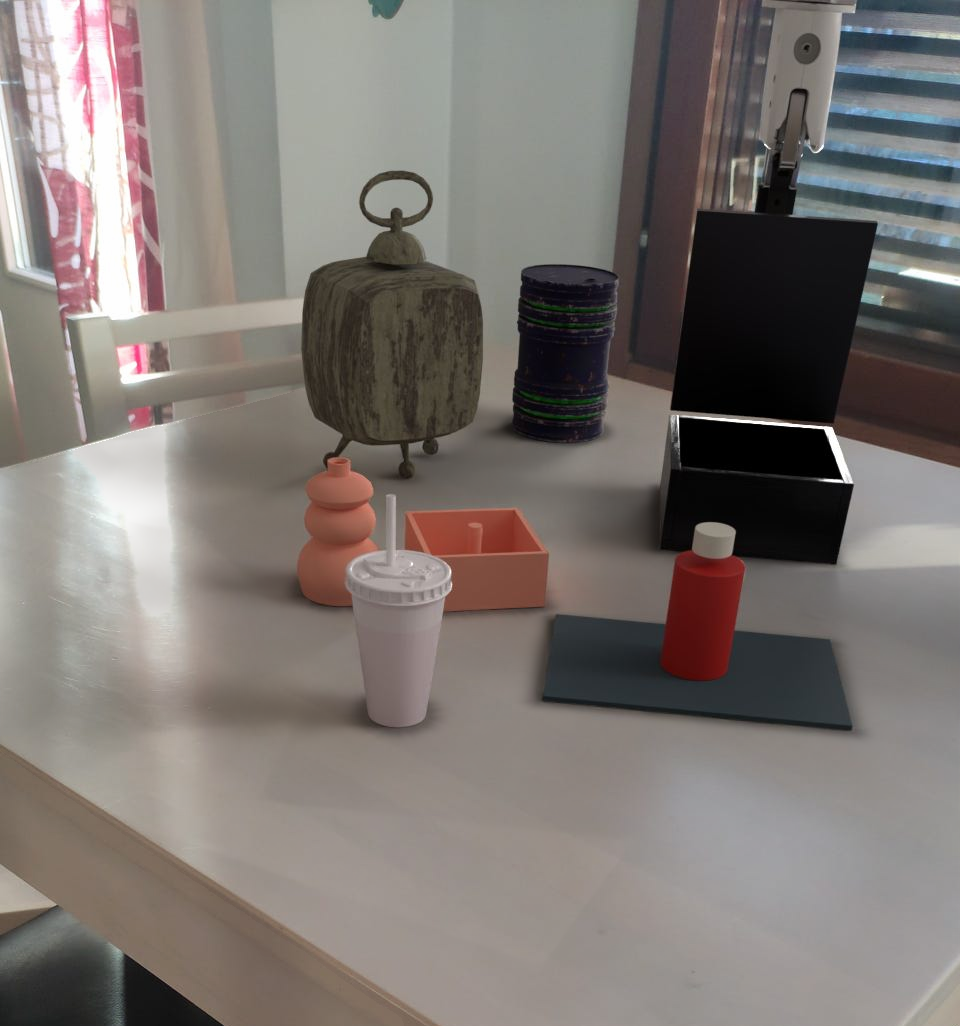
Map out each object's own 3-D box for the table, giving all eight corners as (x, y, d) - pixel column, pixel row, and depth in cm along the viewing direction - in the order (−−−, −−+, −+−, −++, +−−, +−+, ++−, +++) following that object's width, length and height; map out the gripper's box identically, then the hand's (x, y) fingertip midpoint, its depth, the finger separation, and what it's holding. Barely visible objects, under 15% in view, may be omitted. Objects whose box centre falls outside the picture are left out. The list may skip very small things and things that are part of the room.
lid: (878, 223, 102) (876, 220, 102) (697, 210, 103) (697, 208, 103) (833, 423, 112) (833, 420, 113) (670, 410, 113) (670, 407, 114)
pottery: (514, 558, 102) (522, 436, 96) (544, 606, 95) (555, 477, 89) (291, 567, 98) (286, 440, 93) (304, 618, 91) (299, 484, 85)
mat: (829, 644, 92) (830, 639, 91) (851, 731, 81) (852, 725, 81) (555, 618, 93) (555, 613, 93) (542, 701, 82) (542, 695, 82)
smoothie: (378, 680, 84) (379, 471, 75) (464, 704, 81) (474, 492, 73) (327, 721, 79) (321, 502, 71) (417, 748, 77) (422, 525, 69)
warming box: (836, 564, 104) (854, 484, 100) (659, 549, 105) (670, 468, 101) (817, 501, 117) (832, 427, 113) (659, 487, 118) (669, 414, 114)
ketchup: (725, 654, 88) (749, 519, 83) (728, 684, 85) (753, 545, 79) (660, 648, 89) (679, 513, 83) (660, 677, 85) (680, 539, 79)
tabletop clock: (437, 448, 124) (445, 162, 110) (487, 475, 118) (502, 176, 104) (305, 467, 118) (295, 165, 103) (350, 498, 112) (346, 182, 97)
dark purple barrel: (490, 424, 132) (498, 269, 123) (556, 409, 138) (568, 260, 129) (558, 448, 126) (572, 288, 118) (624, 432, 132) (641, 278, 123)
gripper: (870, -7, 95) (820, 256, 106) (847, -10, 108) (803, 227, 118) (771, -14, 96) (730, 249, 107) (758, -16, 108) (723, 220, 119)
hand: (769, 237), depth 112 cm, fingers closed
